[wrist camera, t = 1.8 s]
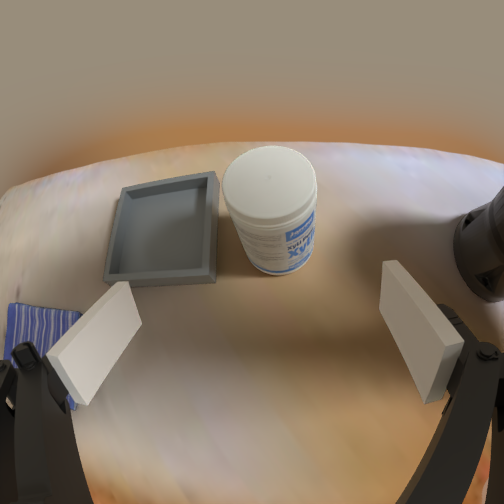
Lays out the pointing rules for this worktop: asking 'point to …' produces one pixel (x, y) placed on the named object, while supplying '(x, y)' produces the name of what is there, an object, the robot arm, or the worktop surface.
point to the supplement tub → (273, 207)
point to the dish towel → (37, 329)
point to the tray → (165, 233)
